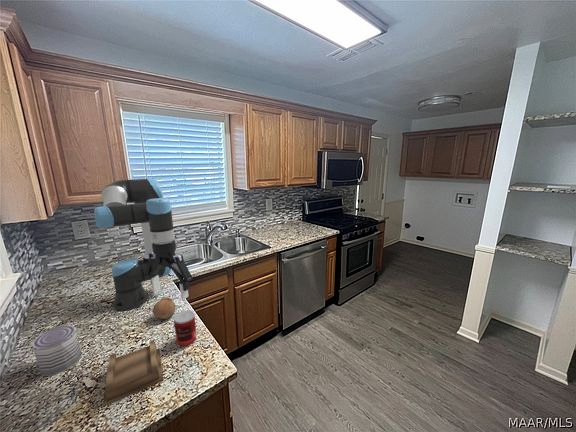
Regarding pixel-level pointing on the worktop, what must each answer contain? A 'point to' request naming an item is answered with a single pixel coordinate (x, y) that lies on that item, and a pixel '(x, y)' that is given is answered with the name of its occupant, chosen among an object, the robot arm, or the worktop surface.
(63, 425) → the worktop surface
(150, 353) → the brown square tray
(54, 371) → the can
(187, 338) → the canned food
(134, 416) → the worktop surface
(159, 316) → the onion
